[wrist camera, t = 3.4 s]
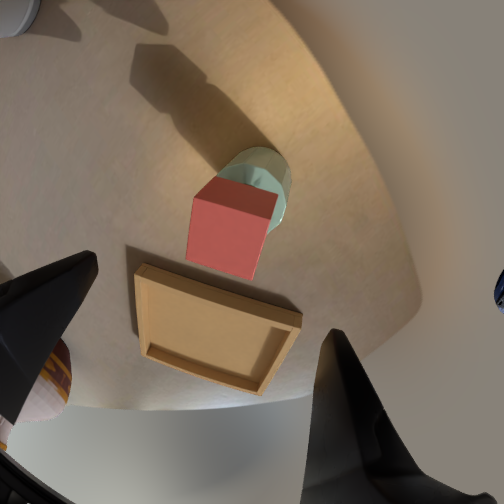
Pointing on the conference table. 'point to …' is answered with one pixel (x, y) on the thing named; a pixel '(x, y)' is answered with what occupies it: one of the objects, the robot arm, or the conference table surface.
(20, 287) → the robot arm
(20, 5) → the travel mug
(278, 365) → the tray
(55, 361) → the jug
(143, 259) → the conference table surface
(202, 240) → the cube with green stem
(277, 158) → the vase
